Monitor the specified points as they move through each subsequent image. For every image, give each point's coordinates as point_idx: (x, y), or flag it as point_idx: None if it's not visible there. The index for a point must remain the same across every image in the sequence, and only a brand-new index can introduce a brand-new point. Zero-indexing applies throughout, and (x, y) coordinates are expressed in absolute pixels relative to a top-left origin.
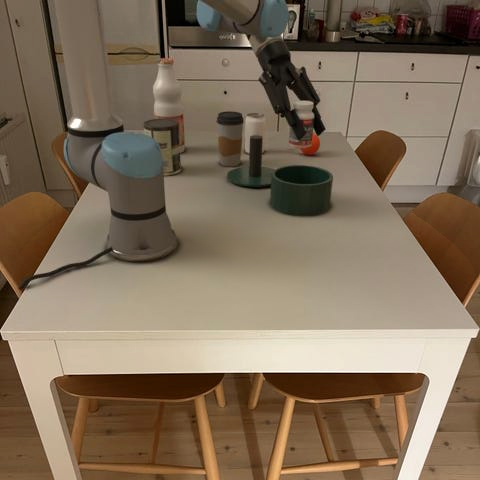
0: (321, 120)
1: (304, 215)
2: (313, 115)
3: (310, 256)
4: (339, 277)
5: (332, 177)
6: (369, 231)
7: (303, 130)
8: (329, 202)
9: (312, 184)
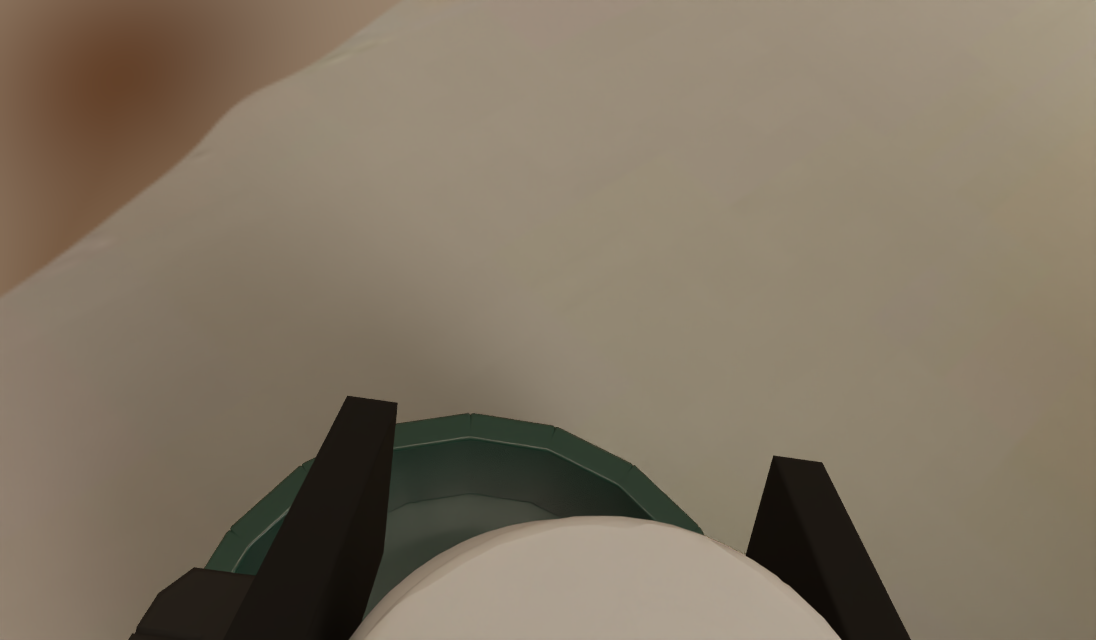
0: (305, 482)
1: None
2: (480, 540)
3: (963, 193)
4: (983, 19)
5: None
6: (501, 142)
7: (813, 492)
8: None
9: (606, 466)
